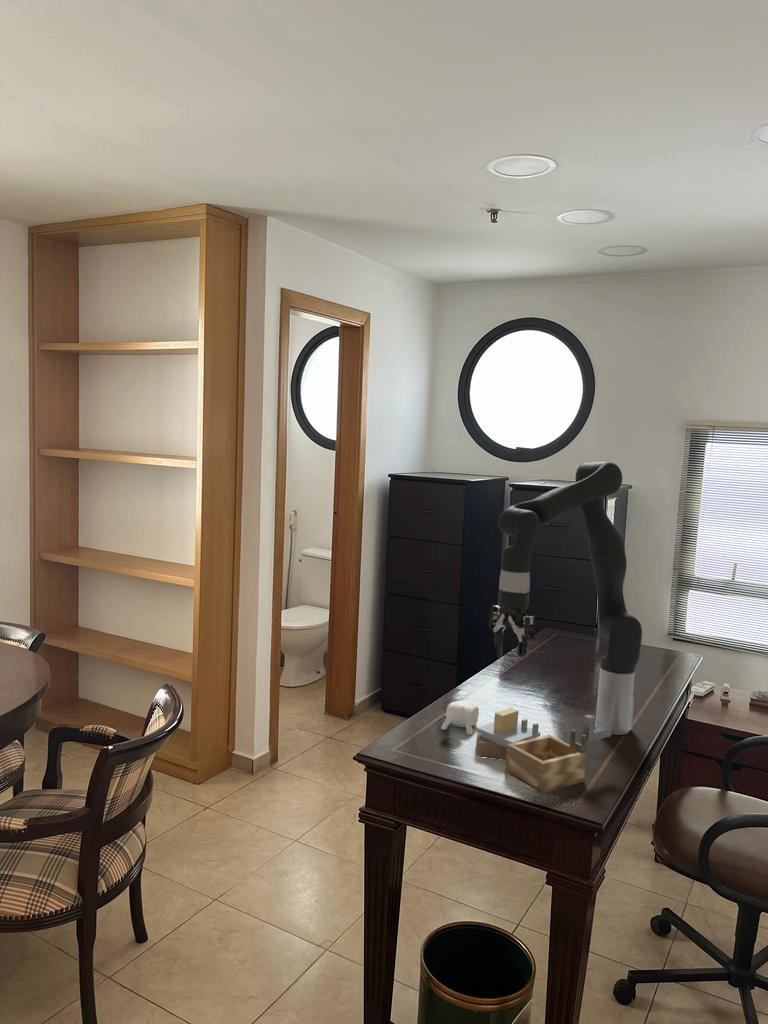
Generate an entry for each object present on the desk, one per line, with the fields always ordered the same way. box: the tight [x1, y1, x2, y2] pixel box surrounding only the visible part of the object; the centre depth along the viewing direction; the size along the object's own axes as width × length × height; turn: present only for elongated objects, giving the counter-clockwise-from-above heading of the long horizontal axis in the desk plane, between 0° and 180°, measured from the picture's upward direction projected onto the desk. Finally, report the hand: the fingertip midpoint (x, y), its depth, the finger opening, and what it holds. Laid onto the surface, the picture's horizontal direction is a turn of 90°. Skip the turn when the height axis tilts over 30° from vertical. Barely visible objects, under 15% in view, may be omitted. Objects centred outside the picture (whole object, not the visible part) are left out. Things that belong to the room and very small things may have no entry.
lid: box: [476, 707, 541, 748], centre depth 197 cm, size 11×11×6 cm
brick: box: [475, 732, 507, 761], centre depth 197 cm, size 17×8×5 cm, turn 83°
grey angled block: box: [582, 714, 612, 743], centre depth 188 cm, size 8×2×6 cm, turn 123°
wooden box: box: [504, 729, 587, 794], centre depth 185 cm, size 14×12×11 cm
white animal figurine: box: [440, 700, 480, 736], centre depth 212 cm, size 9×8×15 cm
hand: (509, 651), depth 198 cm, fingers open, 8 cm apart
